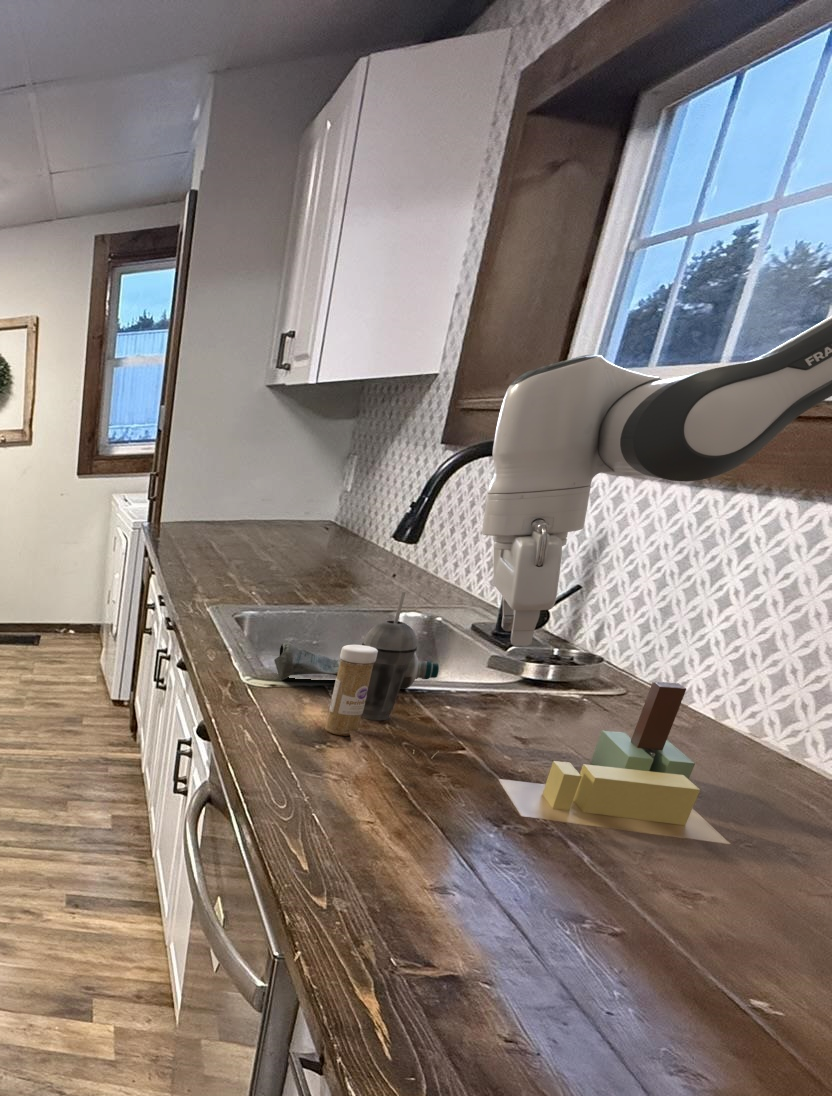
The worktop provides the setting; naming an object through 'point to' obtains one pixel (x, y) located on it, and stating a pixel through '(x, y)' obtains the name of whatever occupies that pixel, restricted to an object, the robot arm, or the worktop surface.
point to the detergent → (311, 663)
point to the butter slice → (561, 785)
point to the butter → (636, 794)
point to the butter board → (536, 806)
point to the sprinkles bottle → (350, 689)
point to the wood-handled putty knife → (658, 716)
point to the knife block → (639, 756)
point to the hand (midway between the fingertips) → (515, 637)
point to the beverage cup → (388, 664)
